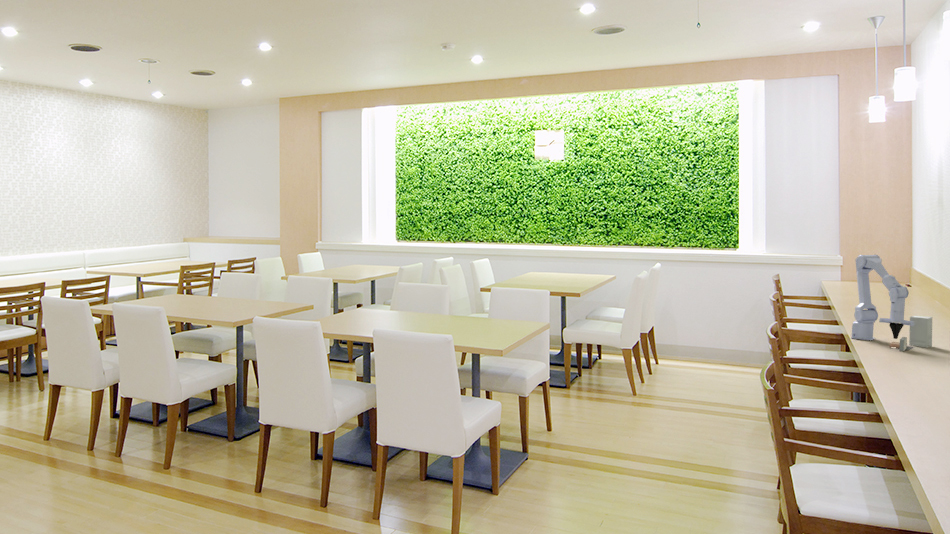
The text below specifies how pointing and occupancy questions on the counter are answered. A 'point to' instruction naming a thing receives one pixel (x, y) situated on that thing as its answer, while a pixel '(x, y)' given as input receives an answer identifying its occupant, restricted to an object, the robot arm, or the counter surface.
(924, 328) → the skincare box
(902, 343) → the slate tile
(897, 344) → the terracotta tile
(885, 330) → the counter surface
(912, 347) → the rubber mat
